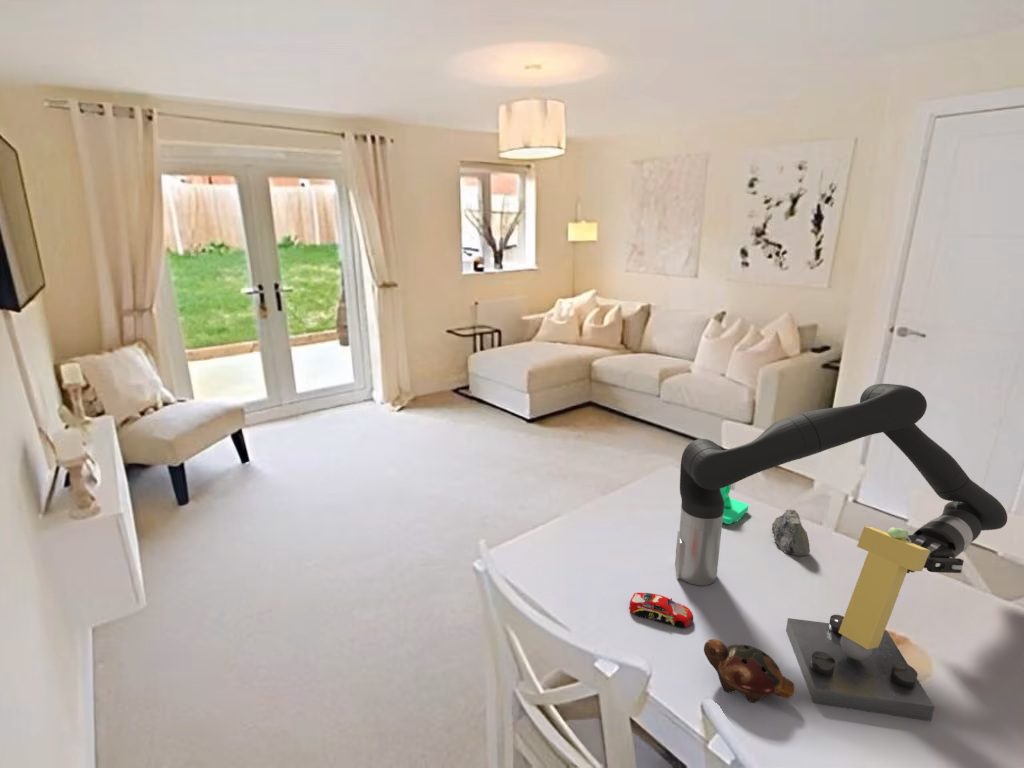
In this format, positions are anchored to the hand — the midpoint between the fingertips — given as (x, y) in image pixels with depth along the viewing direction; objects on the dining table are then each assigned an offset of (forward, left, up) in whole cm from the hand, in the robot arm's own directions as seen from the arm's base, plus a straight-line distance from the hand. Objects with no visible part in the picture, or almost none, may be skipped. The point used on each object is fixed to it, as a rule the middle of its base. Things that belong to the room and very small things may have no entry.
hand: (904, 567), depth 104 cm
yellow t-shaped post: (-11, -11, -13) cm, 20 cm away
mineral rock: (-10, +34, -17) cm, 39 cm away
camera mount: (-24, +45, -17) cm, 54 cm away
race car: (-44, -1, -17) cm, 47 cm away
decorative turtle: (-30, -18, -17) cm, 39 cm away
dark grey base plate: (-10, -10, -17) cm, 22 cm away
